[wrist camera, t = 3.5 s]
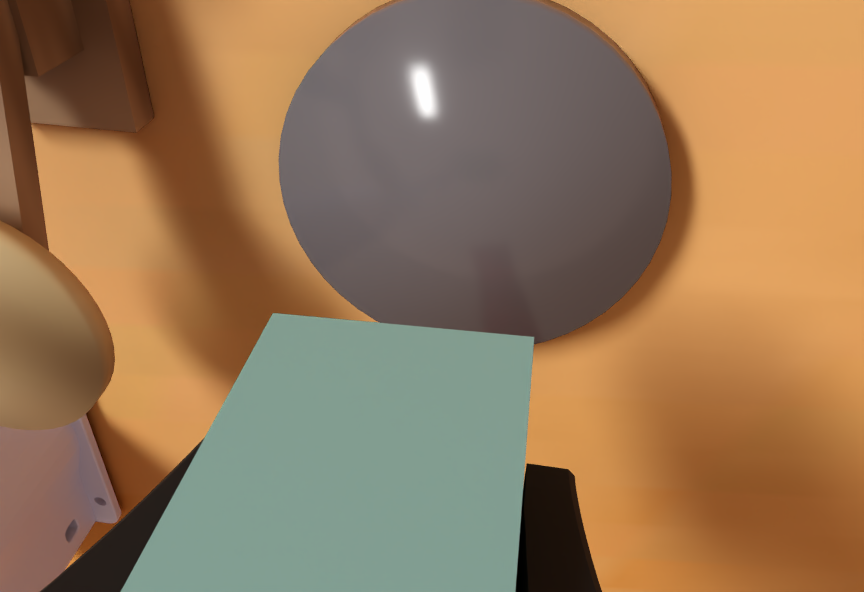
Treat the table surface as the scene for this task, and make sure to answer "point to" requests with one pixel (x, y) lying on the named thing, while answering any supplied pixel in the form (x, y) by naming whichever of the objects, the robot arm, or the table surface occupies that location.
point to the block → (355, 466)
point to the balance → (22, 204)
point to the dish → (476, 167)
